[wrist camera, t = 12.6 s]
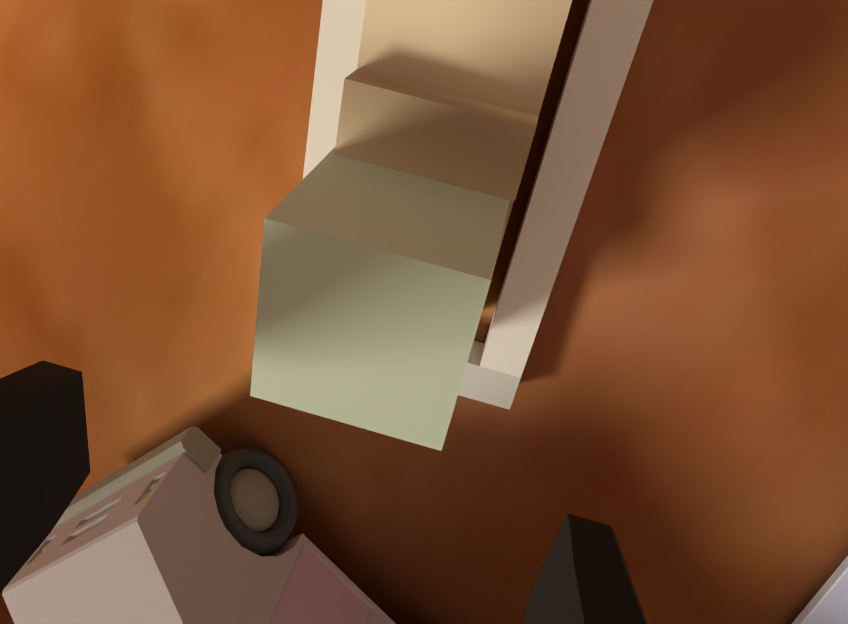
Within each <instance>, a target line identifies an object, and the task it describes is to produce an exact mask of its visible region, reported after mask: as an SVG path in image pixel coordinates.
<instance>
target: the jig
mask: <svg viewBox="0 0 848 624" xmlns="http://www.w3.org/2000/svg"><path fill="white" fill-rule="evenodd" d="M366 1H367V0H323V5H322V14H321V23H320V31H319V40H318V49H317V58H316V67H315V76H314V85H313V94H312V102H311V111H310V120H309V129H308V138H307V147H306V156H305V165H304V173H303V179H304V178H305V177H306V176H307V175H308V174H309V173H310V172H311V171H312V170H313V169H314V168H315V167H316V166H317V165H318V164H319V163H320V162H321V161H322V160H323V159H324V158H325V157H326V156H327V154H328V153H329V152H330V151H331V150H332V149H333V148H334V147H335V145H336V138H337V130H338V123H339V115H340V108H341V100H342V93H343V86H344V79H345V78H346V77H347V76H348V75H350V74H351V73H352V72H354V71H355V70H356V69H357V64H358V57H359V50H360V43H361V36H362V29H363V22H364V15H365V8H366ZM652 3H653V0H589V3H588V6H587V9H586V12H585V16H584V19H583V22H582V26H581V29H580V32H579V35H578V39H577V42H576V45H575V48H574V52H573V55H572V58H571V62H570V65H569V68H568V71H567V75H566V78H565V81H564V85H563V88H562V91H561V94H560V98H559V101H558V104H557V108H556V111H555V114H554V117H553V121H552V124H551V127H550V130H549V134H548V137H547V140H546V144H545V147H544V150H543V153H542V157H541V160H540V163H539V167H538V170H537V173H536V176H535V180H534V183H533V186H532V189H531V193H530V196H529V199H528V203H527V206H526V209H525V212H524V216H523V219H522V222H521V226H520V229H519V232H518V235H517V239H516V242H515V245H514V249H513V252H512V255H511V258H510V262H509V265H508V268H507V271H506V275H505V278H504V281H503V285H502V288H501V291H500V294H499V298H498V301H497V304H496V308H495V311H494V314H493V317H492V321H491V324H490V327H489V331H488V334H487V337H486V340H485V343H482V342H478V341H475V340H474V341H473V345H472V348H471V352H470V355H469V359H468V362H467V365H466V369H465V372H464V376H463V379H462V382H461V386H460V389H459V393H458V395H460V396H463V397H467V398H470V399H474V400H477V401H481V402H484V403H488V404H491V405H495V406H498V407H502V408H505V409H509V410H510V407H511V404H512V402H513V399H514V396H515V393H516V390H517V387H518V385H519V382H520V379H521V376H522V373H523V370H524V367H525V365H526V362H527V359H528V356H529V353H530V350H531V348H532V345H533V342H534V339H535V336H536V333H537V330H538V328H539V325H540V322H541V319H542V316H543V313H544V311H545V308H546V305H547V302H548V299H549V296H550V293H551V291H552V288H553V285H554V282H555V279H556V276H557V274H558V271H559V268H560V265H561V262H562V259H563V256H564V254H565V251H566V248H567V245H568V242H569V239H570V237H571V234H572V231H573V228H574V225H575V222H576V219H577V217H578V214H579V211H580V208H581V205H582V202H583V200H584V197H585V194H586V191H587V188H588V185H589V182H590V180H591V177H592V174H593V171H594V168H595V165H596V163H597V160H598V157H599V154H600V151H601V148H602V145H603V143H604V140H605V137H606V134H607V131H608V128H609V126H610V123H611V120H612V117H613V114H614V111H615V108H616V106H617V103H618V100H619V97H620V94H621V91H622V89H623V86H624V83H625V80H626V77H627V74H628V71H629V69H630V66H631V63H632V60H633V57H634V54H635V52H636V49H637V46H638V43H639V40H640V37H641V34H642V32H643V29H644V26H645V23H646V20H647V17H648V15H649V12H650V9H651V6H652Z"/></svg>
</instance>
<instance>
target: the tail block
mask: <svg viewBox="0 0 848 624" xmlns="http://www.w3.org/2000/svg"><path fill="white" fill-rule="evenodd" d="M509 203H510V200H509V199H505V198H502V197H498V196H494V195H490V194H486V193H483V192H479V191H475V190H471V189H468V188H464V187H460V186H456V185H453V184H449V183H445V182H441V181H438V180H434V179H430V178H426V177H422V176H419V175H415V174H411V173H407V172H404V171H400V170H396V169H392V168H389V167H385V166H381V165H377V164H374V163H370V162H366V161H362V160H358V159H355V158H351V157H347V156H343V155H340V154H336V153H335V147H334V148H333V149H332V150H331V151H330V152H329V153H328V154H327V156H326V157H325V158H324V159H323V160H322V161H321V162H320V163H319V164H318V165H317V166H316V167H315V168H314V169H313V170H312V171H311V172H310V173H309V174H308V175H307V176H306V177H305V178H304V179H303V180H302V181H301V182H300V183H299V184H298V185H297V186H296V187H295V188H294V189H293V190H292V191H291V192H290V193H289V194H288V195H287V196H286V197H285V198H284V199H283V200H282V201H281V202H280V203H279V204H278V205H277V206H276V207H275V208H274V209H273V210H272V211H271V212H270V213H269V214H268V215H267V216H266V218H265V220H264V233H263V245H262V257H261V269H260V281H259V294H258V306H257V318H256V330H255V342H254V354H253V367H252V379H251V391H250V396H252V397H256V398H259V399H263V400H266V401H270V402H273V403H276V404H280V405H283V406H287V407H290V408H294V409H297V410H301V411H304V412H308V413H311V414H315V415H318V416H321V417H325V418H328V419H332V420H335V421H339V422H342V423H346V424H349V425H353V426H356V427H360V428H363V429H366V430H370V431H373V432H377V433H380V434H384V435H387V436H391V437H394V438H398V439H401V440H405V441H408V442H411V443H415V444H418V445H422V446H425V447H429V448H432V449H436V450H439V451H442V447H443V444H444V441H445V437H446V434H447V430H448V427H449V424H450V420H451V417H452V413H453V410H454V406H455V403H456V400H457V396H458V393H459V389H460V386H461V382H462V379H463V376H464V372H465V369H466V365H467V362H468V359H469V355H470V352H471V348H472V345H473V341H474V338H475V335H476V331H477V328H478V324H479V321H480V317H481V314H482V311H483V307H484V304H485V300H486V297H487V294H488V290H489V287H490V283H491V280H492V275H493V271H494V267H495V263H496V258H497V254H498V250H499V246H500V241H501V237H502V233H503V228H504V224H505V220H506V216H507V211H508V207H509Z"/></svg>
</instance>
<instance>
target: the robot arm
mask: <svg viewBox="0 0 848 624" xmlns="http://www.w3.org/2000/svg"><path fill="white" fill-rule="evenodd" d="M89 473H90V462H89V450H88V438H87V427H86V415H85V403H84V391H83V379H82V372H81V371H77V370H74V369H70V368H67V367H63V366H60V365H57V364H53V363H50V362H46V361H40V362H38V363H36V364H33V365H31V366H28V367H26V368H24V369H21V370H19V371H17V372H15V373H12V374H10V375H8V376H6V377H3V378H1V379H0V593H1V591H2V590H3V589H4V588H5V587H6V585H7V584H8V583H9V582H10V581H11V580H12V578H13V577H14V576H15V575H16V574H17V572H18V571H19V570H20V569H21V568H22V566H23V565H24V564H25V563H26V562H27V560H28V559H29V558H30V557H31V556H32V554H33V553H34V552H35V551H36V550H37V548H38V547H39V546H40V545H41V544H42V542H43V541H44V540H45V539H46V537H47V536H48V535H49V534H50V533H51V531H52V530H53V528H54V527H55V525H56V524H57V522H58V521H59V519H60V518H61V516H62V515H63V513H64V512H65V510H66V509H67V507H68V506H69V505H70V503H71V501H72V500H73V498H74V497H75V495H76V493H77V492H78V490H79V489H80V487H81V486H82V484H83V482H84V481H85V479H86V478H87V476H88V474H89ZM524 624H647V621H646V619H645V616H644V613H643V611H642V608H641V605H640V603H639V600H638V597H637V595H636V592H635V589H634V586H633V584H632V581H631V578H630V575H629V572H628V570H627V567H626V564H625V561H624V558H623V555H622V552H621V549H620V546H619V543H618V540H617V537H616V534H615V532H614V531H613V529H612V527H611V526H609V525H605V524H602V523H598V522H595V521H591V520H588V519H585V518H581V517H578V516H574V515H571V514H567V516H566V518H565V520H564V523H563V525H562V527H561V529H560V531H559V534H558V536H557V538H556V540H555V542H554V544H553V547H552V549H551V551H550V553H549V555H548V557H547V560H546V562H545V564H544V566H543V568H542V570H541V573H540V575H539V577H538V579H537V581H536V584H535V586H534V588H533V590H532V592H531V594H530V597H529V599H528V601H527V604H526V611H525V618H524ZM792 624H848V556H847V557H846V558H845V559H844V561H843V562H842V563H841V564H840V565H839V567H838V568H837V569H836V570H835V572H834V573H833V574H832V575H831V576H830V578H829V579H828V580H827V581H826V582H825V584H824V585H823V586H822V587H821V589H820V590H819V591H818V592H817V593H816V595H815V596H814V597H813V598H812V600H811V601H810V602H809V603H808V604H807V606H806V607H805V608H804V609H803V611H802V612H801V613H800V614H799V615H798V617H797V618H796V619H795V620H794V621H793V623H792Z"/></svg>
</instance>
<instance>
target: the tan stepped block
mask: <svg viewBox="0 0 848 624" xmlns="http://www.w3.org/2000/svg"><path fill="white" fill-rule="evenodd" d="M571 3H572V0H367V1H366V8H365V15H364V22H363V29H362V36H361V43H360V50H359V57H358V64H357V69H356V70H355V71H354V72H352V73H351V74H350V75H348V76H347V77H346V78H345V79H344V86H343V93H342V100H341V108H340V115H339V123H338V130H337V138H336V145H335V153H336V154H340V155H343V156H347V157H351V158H355V159H358V160H362V161H366V162H370V163H374V164H377V165H381V166H385V167H389V168H392V169H396V170H400V171H404V172H407V173H411V174H415V175H419V176H422V177H426V178H430V179H434V180H438V181H441V182H445V183H449V184H453V185H456V186H460V187H464V188H468V189H471V190H475V191H479V192H483V193H486V194H490V195H494V196H498V197H502V198H505V199H509V200H510V203H509V207H508V211H507V216H506V220H505V224H504V228H503V233H502V237H501V241H500V246H499V250H498V254H499V251H500V247H501V244H502V240H503V237H504V233H505V230H506V227H507V223H508V220H509V216H510V213H511V209H512V206H513V203H514V201H515V199H516V196H517V192H518V189H519V185H520V182H521V178H522V175H523V172H524V168H525V165H526V161H527V158H528V154H529V151H530V148H531V144H532V141H533V137H534V134H535V130H536V126H537V122H538V117H539V113H540V110H541V106H542V103H543V99H544V96H545V92H546V89H547V86H548V82H549V79H550V75H551V72H552V68H553V65H554V61H555V58H556V55H557V51H558V48H559V44H560V41H561V37H562V34H563V30H564V27H565V24H566V20H567V17H568V13H569V10H570V6H571ZM498 254H497V258H498ZM497 258H496V261H497ZM495 264H496V263H495ZM494 268H495V267H494ZM457 397H458V396H457ZM456 401H457V400H456ZM455 405H456V403H455ZM454 408H455V406H454ZM453 412H454V410H453ZM452 415H453V413H452ZM451 419H452V417H451ZM450 422H451V420H450Z"/></svg>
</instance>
